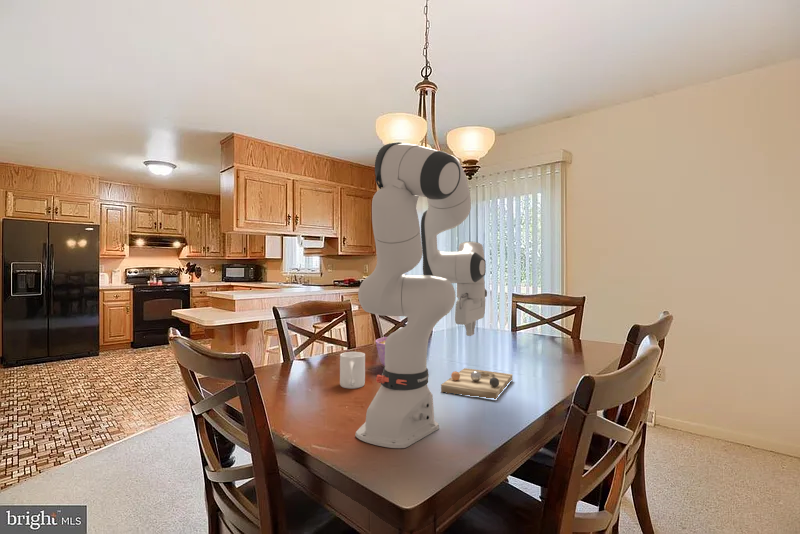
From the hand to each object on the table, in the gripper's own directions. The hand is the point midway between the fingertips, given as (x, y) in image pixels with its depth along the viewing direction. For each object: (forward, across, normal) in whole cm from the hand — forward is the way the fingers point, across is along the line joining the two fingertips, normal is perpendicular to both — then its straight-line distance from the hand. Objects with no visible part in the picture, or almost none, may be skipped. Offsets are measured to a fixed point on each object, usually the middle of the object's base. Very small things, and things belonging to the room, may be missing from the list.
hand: (470, 335), depth 128 cm
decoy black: (+15, +4, -7) cm, 17 cm away
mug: (+19, -12, +38) cm, 44 cm away
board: (+19, +10, 0) cm, 21 cm away
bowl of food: (+19, +16, +34) cm, 42 cm away
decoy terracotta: (+15, +4, +6) cm, 17 cm away
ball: (+15, +6, 0) cm, 16 cm away
